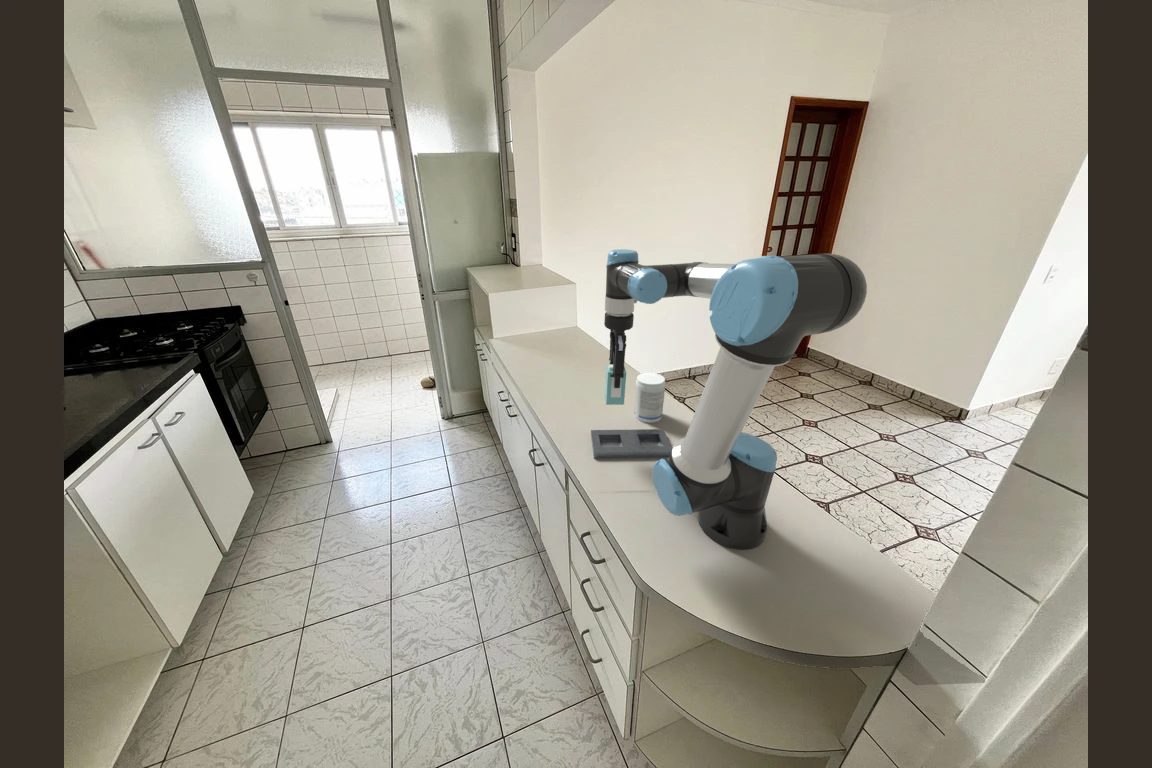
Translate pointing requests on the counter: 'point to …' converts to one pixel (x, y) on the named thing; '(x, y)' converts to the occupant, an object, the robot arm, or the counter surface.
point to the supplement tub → (649, 397)
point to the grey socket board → (630, 443)
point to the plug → (608, 382)
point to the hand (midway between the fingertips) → (614, 391)
